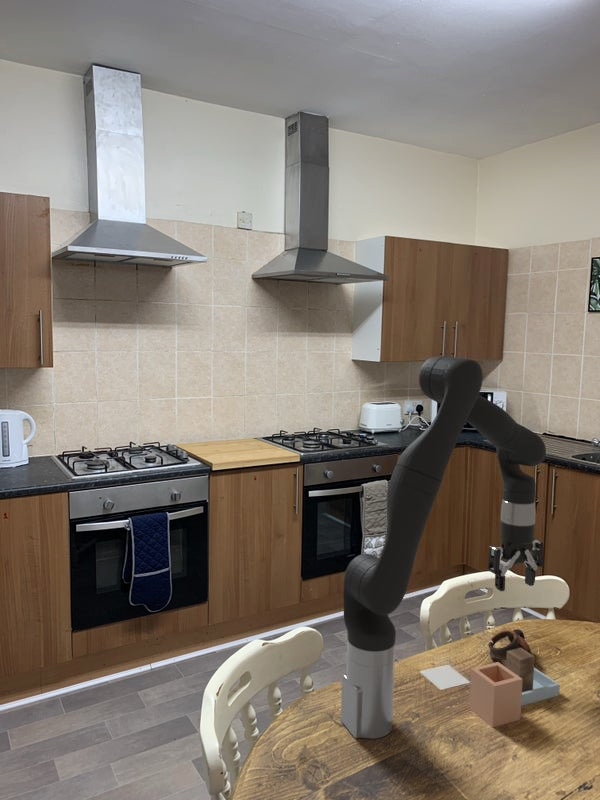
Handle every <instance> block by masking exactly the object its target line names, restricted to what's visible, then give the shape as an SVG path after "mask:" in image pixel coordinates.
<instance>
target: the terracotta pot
mask: <svg viewBox="0 0 600 800" xmlns="http://www.w3.org/2000/svg"><path fill="white" fill-rule="evenodd" d="M469 676H470V677H469V679H470V680H469V681H470V683H469V699H468V708H469V710H471V711H472V712H473V713H475V714H476V715H477V717H479V718H480V719H481V720H483V721H484V722H485V723H486V724H487V725H489V726H490V728H496V727H499V726H503V725H506V724H510V723H513V722H517V721H520V720H521V715H522V714H521V713H522V706H521V699H522V681H523V679H522V678H520V677H519V676H518V675H516V674H515V673H513V672H512V671H510V670H509V669H508V668H506V665H503V664H502V663H500V661H497V662H492V663H488V664H484V665H480V666H475V667H471V668H470V675H469Z"/></svg>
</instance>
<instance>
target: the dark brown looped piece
mask: <svg viewBox="0 0 600 800" xmlns="http://www.w3.org/2000/svg"><path fill="white" fill-rule="evenodd" d="M525 637H526V636H525V634H524V632H523V631H522V630H521V629H519V628H518V629H517V628H516V629H513V630H509V629H508V630H506V629H505V630H503V631H500V632H497V633H496V634H494V635H493V636H492V637H491V639H490V640H491V641H490V642H489V643H488V648H489V656H490V658H492V659H494V660H499V661H500V660H505V661H506V656H507V651H509V650H514V649H518V648H522V649H524V650H525V651H527V652H528V653H530V654H532V655H533V652H532V651H531V650H532V649H531V648H530V645H529V644H528V643H527V641H526V640H525V639H526V638H525ZM504 638H507V639H508V641H509V642H510V643H509V644H507V645H505V646H502V647H494V646H495V644H497V643H498V642H499V641H501V640H502V639H504Z"/></svg>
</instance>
